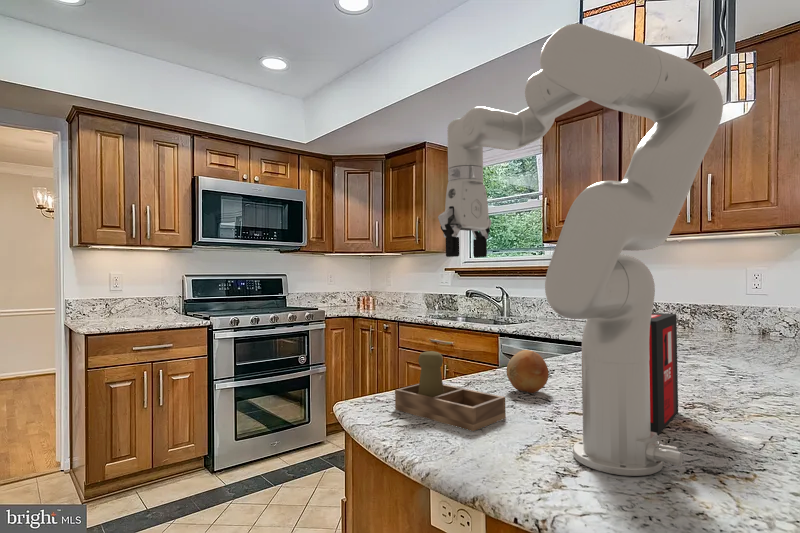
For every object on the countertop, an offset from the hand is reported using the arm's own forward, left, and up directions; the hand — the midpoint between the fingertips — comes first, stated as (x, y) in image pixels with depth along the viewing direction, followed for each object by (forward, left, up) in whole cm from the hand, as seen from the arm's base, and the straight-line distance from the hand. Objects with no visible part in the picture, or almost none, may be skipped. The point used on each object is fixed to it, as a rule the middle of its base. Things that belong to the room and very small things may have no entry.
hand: (466, 256), depth 104 cm
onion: (-3, -19, -32) cm, 38 cm away
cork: (+5, +7, -31) cm, 32 cm away
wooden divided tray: (0, +7, -32) cm, 33 cm away
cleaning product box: (-30, -16, -33) cm, 47 cm away
